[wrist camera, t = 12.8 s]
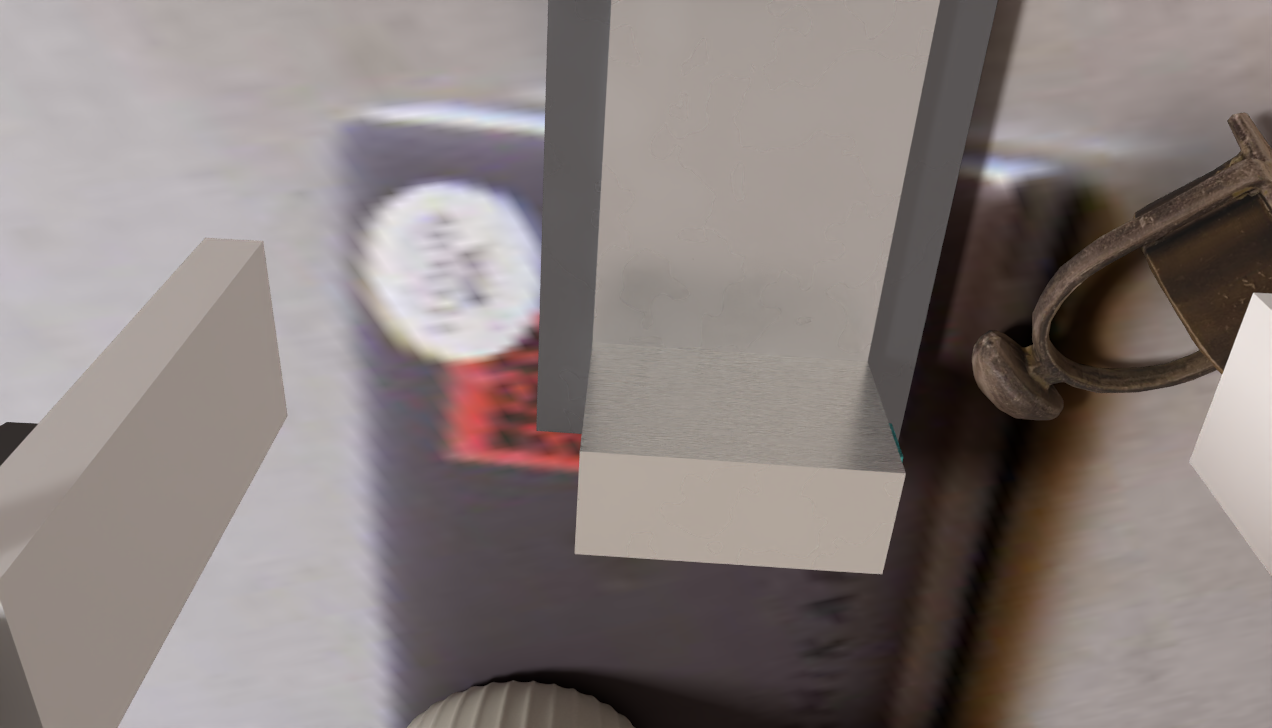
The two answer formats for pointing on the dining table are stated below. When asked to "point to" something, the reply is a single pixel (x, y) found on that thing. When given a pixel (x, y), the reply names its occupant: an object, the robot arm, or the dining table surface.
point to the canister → (520, 708)
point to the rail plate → (745, 264)
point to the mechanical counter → (1186, 271)
